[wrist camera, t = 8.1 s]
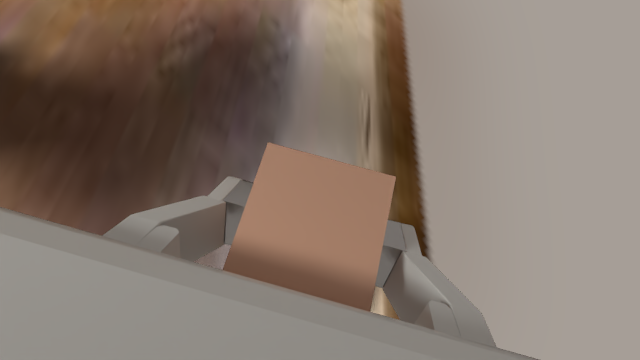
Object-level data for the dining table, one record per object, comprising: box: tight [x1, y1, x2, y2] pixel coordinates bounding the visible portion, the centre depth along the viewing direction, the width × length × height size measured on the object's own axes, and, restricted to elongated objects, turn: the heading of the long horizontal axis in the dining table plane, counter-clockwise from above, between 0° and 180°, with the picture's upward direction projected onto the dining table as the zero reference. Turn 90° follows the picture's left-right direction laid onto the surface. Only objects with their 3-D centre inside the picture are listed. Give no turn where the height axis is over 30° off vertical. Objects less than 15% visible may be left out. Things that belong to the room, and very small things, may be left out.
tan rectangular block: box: [223, 142, 396, 312], centre depth 12 cm, size 4×4×10 cm
